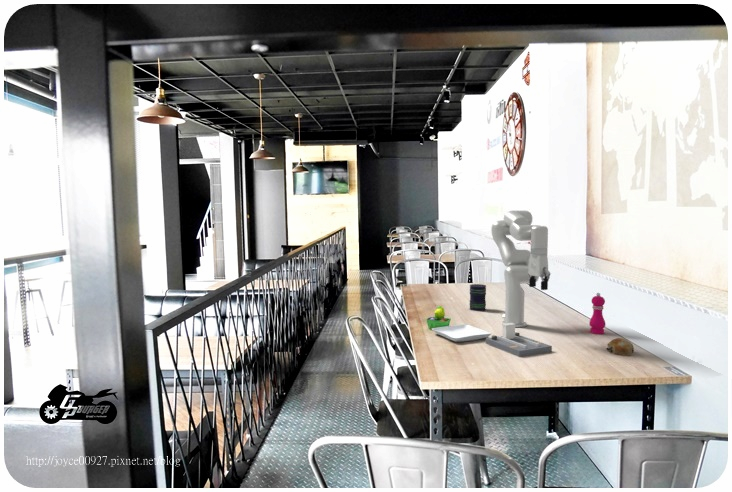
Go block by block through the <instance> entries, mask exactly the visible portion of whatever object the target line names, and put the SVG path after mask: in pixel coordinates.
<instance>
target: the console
mask: <svg viewBox="0 0 732 492" xmlns="http://www.w3.org/2000/svg"><path fill="white" fill-rule="evenodd" d="M485 344H486V345H488V346H491V347H494V348H495V349H498V350H501V351H503V352H506V353H509V354H511V355H512V356H513V355H514V356H515V357H518V358H519V357H520V358H521V357H524V356H525V357H526V356H532V355H539V354H543V353H551V352H552V350H553V345H551V344H550V345H549V344H547V343H543V342H541V341H538V340H535V339H532V338H529V337H527V336H523V335H520V332H516V331H515V338H514V339H506V338H503V335H501V336H500V335H495V334H493V335H492V334H491V337H486V338H485Z"/></svg>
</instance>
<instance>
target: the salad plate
mask: <svg viewBox="0 0 732 492" xmlns="http://www.w3.org/2000/svg"><path fill="white" fill-rule="evenodd" d="M431 330H432V332H434V334H436V335H439V336H441V337H444V338H445V339H448V340H451V341H453V342H456V343H461V342H469V341H477V340H482V339H484V338H485V339H486V338H489V337H490V336H492V332H489V331H487V330H484V329H481V328H478V327H475V326H472V325H468V324H457V325H456V324H455V325H449V326H446V327H438V328H432V329H431Z"/></svg>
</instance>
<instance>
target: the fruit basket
mask: <svg viewBox="0 0 732 492" xmlns="http://www.w3.org/2000/svg"><path fill="white" fill-rule="evenodd" d="M433 314H434V316H429V317H427V318H426V319H425V321H426V324H427V327H428V329H429V330H432V328H438V327H446V326H450V324H451V318H447V317H445V316H446V313H445V308H444V307H443V306H441V305H438V306H437V308H436V310H435V311H434V313H433Z"/></svg>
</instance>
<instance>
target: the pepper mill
mask: <svg viewBox="0 0 732 492" xmlns="http://www.w3.org/2000/svg"><path fill="white" fill-rule="evenodd" d="M605 303H606V299H605V298H604V297H603V296H601V293H599V292H596V294H595V296H592V298H591V304H592V310H593V311H592V312H593V313H592V316H591V318H590V320H589V324H588V325H589V326H590V329H589V332H590V333H591V334H594V335H595V334H596V335H604V334H605V329H604V328H605V327H606V320H605V318H604V315H603V310H604V305H605Z"/></svg>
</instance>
